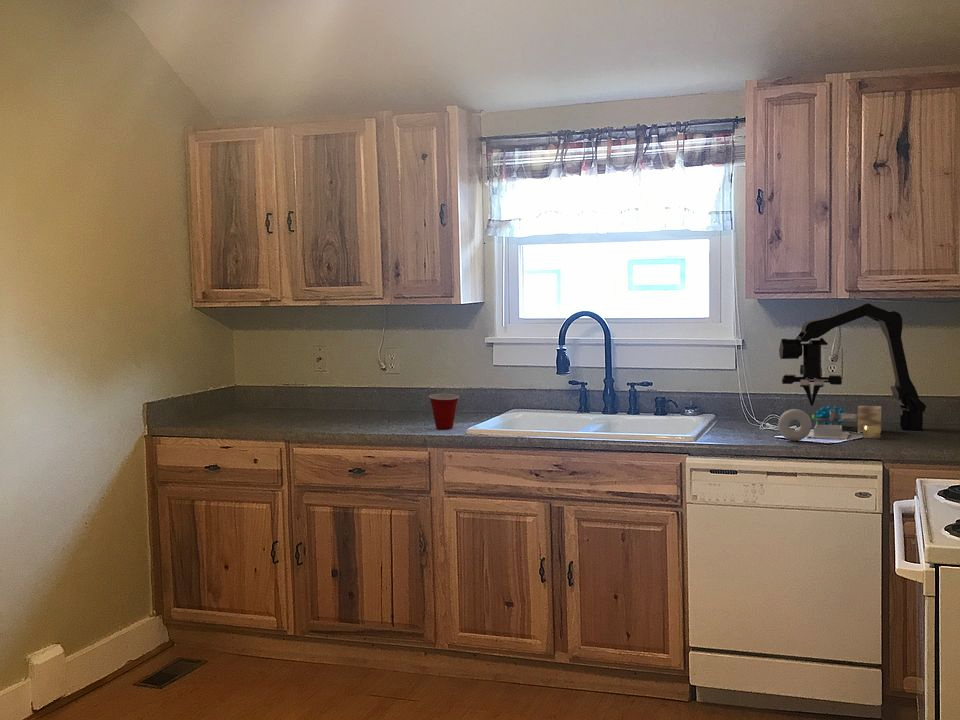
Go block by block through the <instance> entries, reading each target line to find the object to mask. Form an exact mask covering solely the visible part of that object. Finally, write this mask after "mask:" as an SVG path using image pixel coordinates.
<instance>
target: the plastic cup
mask: <svg viewBox="0 0 960 720" xmlns="http://www.w3.org/2000/svg"><path fill="white" fill-rule="evenodd" d="M428 398H429V400H430V403H431V408H432V409H431V410H432V414H433V419H434V425H435V428H436V430H441V431H442V430H452V429H453V428H454V423H455V422H454V421H455V418H456V417H455V416H456V410H457V404H458V401H459V398H460V395H458V394H455V393H432V394H429V395H428Z"/></svg>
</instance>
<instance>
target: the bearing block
mask: <svg viewBox="0 0 960 720" xmlns="http://www.w3.org/2000/svg"><path fill="white" fill-rule="evenodd" d="M857 414H858V421H857V433H858V432H863V425H866V424H874V425H880V426H881V428H880V433H881V434H882V406H880V405H879V406H878V405H858V407H857Z"/></svg>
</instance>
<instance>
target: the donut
mask: <svg viewBox="0 0 960 720" xmlns="http://www.w3.org/2000/svg"><path fill="white" fill-rule="evenodd" d="M794 420H795V421H797V422H798V423H800V426H799V428H798V429H792V428H791V426H790V423H791V422H792V421H794ZM812 425H813V424H812V419H811V418H810V416H809V414H808V413H807V412H805V411H803V410H801V409H797V408H792V409H788V410H785V411H784V412H783V413H782V414H781V415H780V417H779V418H778V423H777V427H778V431H779V433H780V435H782V437H784V438H785V439H787V440H789V441H792V442H796V441H802V440H803V439H805V438H807V435H808V434H809V433H810V431H812V427H813V426H812Z"/></svg>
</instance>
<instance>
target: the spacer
mask: <svg viewBox="0 0 960 720" xmlns="http://www.w3.org/2000/svg"><path fill="white" fill-rule="evenodd" d="M880 428H881V429H882V425H881V426H880V425H874V424H866V425H863V433H862V434H863V435H862V436H863V437H865V438H864V439H866V438H880V439H881V434H880ZM863 437H862V438H863Z"/></svg>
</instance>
